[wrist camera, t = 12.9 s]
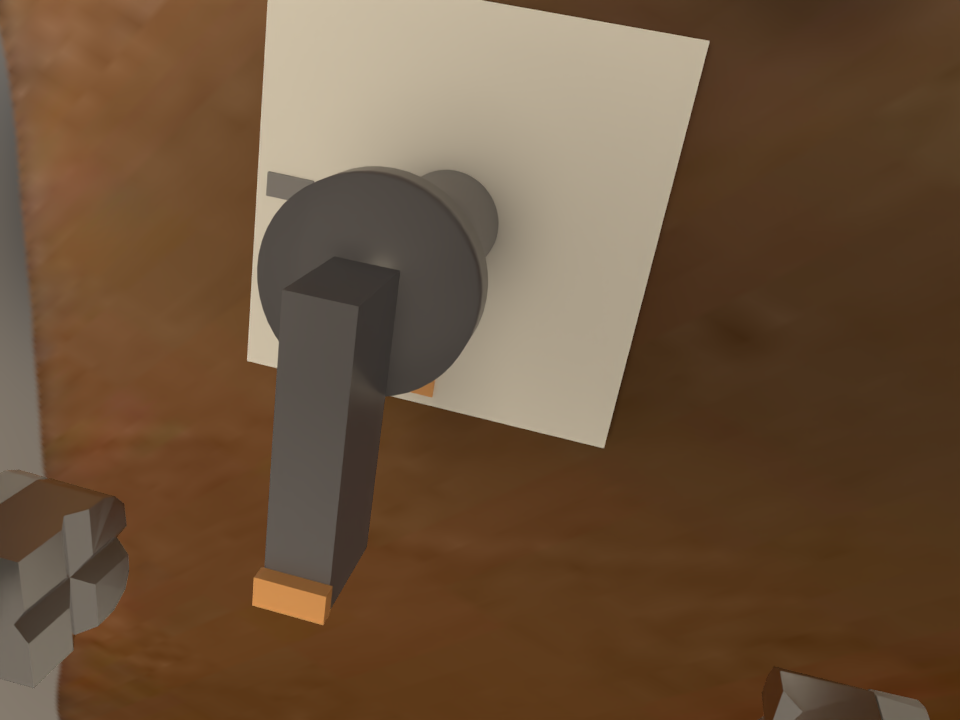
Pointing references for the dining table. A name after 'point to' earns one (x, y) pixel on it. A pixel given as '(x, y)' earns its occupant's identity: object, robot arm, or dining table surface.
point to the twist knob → (352, 357)
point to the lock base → (495, 175)
